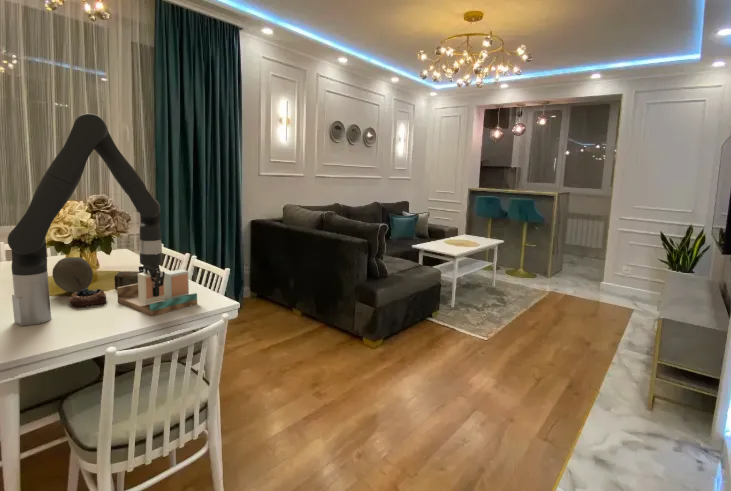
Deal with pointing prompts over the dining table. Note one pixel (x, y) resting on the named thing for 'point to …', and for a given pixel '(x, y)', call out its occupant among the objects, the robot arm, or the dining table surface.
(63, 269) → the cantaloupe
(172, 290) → the faced tea box
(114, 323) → the dining table surface
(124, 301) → the wooden tray
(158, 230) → the robot arm
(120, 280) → the dark brown box
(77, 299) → the pastry
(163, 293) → the tea box
